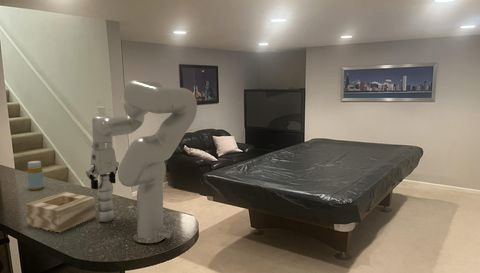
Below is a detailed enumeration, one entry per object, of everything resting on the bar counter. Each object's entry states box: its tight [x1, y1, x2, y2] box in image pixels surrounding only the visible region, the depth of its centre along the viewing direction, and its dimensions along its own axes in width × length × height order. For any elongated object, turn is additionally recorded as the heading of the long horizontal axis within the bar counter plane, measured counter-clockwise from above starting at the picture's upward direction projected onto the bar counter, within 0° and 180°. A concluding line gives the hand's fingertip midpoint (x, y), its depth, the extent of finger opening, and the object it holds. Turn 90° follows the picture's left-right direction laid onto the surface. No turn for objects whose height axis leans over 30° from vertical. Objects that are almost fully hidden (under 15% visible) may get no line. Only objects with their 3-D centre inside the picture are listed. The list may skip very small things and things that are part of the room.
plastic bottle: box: [96, 173, 115, 223], centre depth 143 cm, size 6×7×20 cm
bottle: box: [26, 160, 44, 191], centre depth 185 cm, size 7×7×15 cm
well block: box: [25, 191, 96, 233], centre depth 142 cm, size 18×18×9 cm
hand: (103, 185), depth 142 cm, fingers open, 9 cm apart
